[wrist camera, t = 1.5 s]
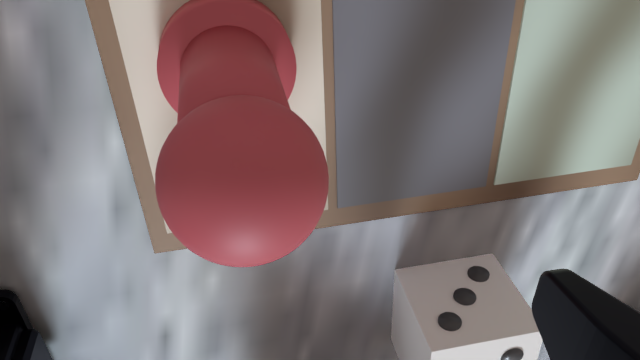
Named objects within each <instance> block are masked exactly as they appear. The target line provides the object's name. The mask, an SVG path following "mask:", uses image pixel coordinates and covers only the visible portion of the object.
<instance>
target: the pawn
mask: <svg viewBox="0 0 640 360" xmlns="http://www.w3.org/2000/svg"><path fill="white" fill-rule="evenodd" d="M296 70H297V64H296V57H295V53H294V49H293V46H292V44H291V42H290V39H289V37H288V35H287V33H286V30H285V28H284V26H283V25H282V23H281V21H280V20H279V19H278V17H277V16H276V15H275V14H274V13H273V12H272V11H271V10H270V9H269V8H268V7H267V6H265V5H264V4H263V3H261V2H259V1H258V0H190V1H188V2H186V3H185V4H183V5H182V6H181V7H180V8H179V9H178V10H176V12H175V13H174V14H173V15H172V16H171V17H170V19H169V20H168V22H167V24H166V25H165V28H164V30H163V32H162V35H161V39H160V44H159V51H158V57H157V76H158V81H159V84H160V88H161V90H162V92H163V95H164V97H165V98H166V100H167V101H168V103H169V104H170V106H171V107H172V108H173V109H174V110H175V111H176V112H177V113H178V117H177V124H176V126H175V127H174V128H173V129H172V131H171V132H170V134H169V135H168V137H167V138H166V140H165V142H164V144H163V146H162V148H161V151H160V154H159V157H158V161H157V165H156V172H155V191H156V197H157V202H158V205H159V208H160V211H161V214H162V216H163V218H164V220H165V222H166V224H167V225H168V227H169V229H170V230H171V232H172V233H173V234H174V236H175V237H176V238H177V239H178V240H179V241H180V242H181V243H182V244H183V245H184V246H185V247H187V248H188V249H189V250H190V251H192V252H193V253H195V254H197V255H198V256H200V257H202V258H204V259H206V260H208V261H211V262H213V263H217V264H220V265H225V266H232V267H252V266H259V265H263V264H267V263H270V262H273V261H275V260H277V259H280V258H282V257H284V256H285V255H287V254H289V253H290V252H292V251H293V250H295V249H296V248H297V247H298V246H300V245H301V244H302V243H303V242H304V241H305V240H306V238H307V237H308V236H309V235H310V234H311V233H312V231H313V230H314V228H315V227H316V225H317V223H318V221H319V219H320V218H321V216H322V213H323V211H324V208H325V205H326V200H327V195H328V188H329V174H328V166H327V162H326V158H325V155H324V151H323V149H322V147H321V145H320V142H319V141H318V139H317V137H316V135H315V134H314V132H313V131H312V129H311V128H310V127H309V126H308V125H307V124H306V123H305V122H304V120H303V119H302V118H300V117H299V116H298V115H297V114H296V113H295V112H293V111H292V110H291V109H290V106H289V103H288V99H289V97H290V95H291V93H292V90H293V88H294V84H295V80H296Z"/></svg>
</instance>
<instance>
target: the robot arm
mask: <svg viewBox="0 0 640 360" xmlns="http://www.w3.org/2000/svg"><path fill="white" fill-rule="evenodd" d="M0 301H4V302H7V303H2V302H0V360H53V359H52V357H51V355H50V353H49V351H48V349H47V347H46V345H45V343H44V341H43V339H42V337H41V335H40V333H39V332H38V331H37V330H36V329H33V327H32V325H31V322H30V320H29V318H28V316H27V314H26V312H25V310H24V308H23V306H22V304H21V302H20V300H19V298H18V296H17V295H16V294H15V293H14V292H12V291H9V290H0ZM532 314H533V317H534V320H535V323H536V325H537V328H538V330H539V332H540V335H541V337H542V340H543V342H544V345H545V347H546V350H547V352H548V355H549V357H550V360H640V313H639V312H638V311H636V310H635V309H633V308H631V307H630V306H628V305H626V304H625V303H623V302H621V301H620V300H618V299H616V298H615V297H613V296H612V295H610V294H608V293H607V292H605V291H603V290H602V289H600V288H598V287H597V286H595V285H594V284H592V283H590V282H589V281H587V280H585V279H584V278H582V277H580V276H579V275H577V274H575V273H574V272H572V271H570V270H568V269H557V270H550V271H545V272H544V273H543V274H542V275H541V276H540V279H539V282H538V285H537V289H536V292H535V295H534V298H533V302H532Z"/></svg>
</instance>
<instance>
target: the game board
mask: <svg viewBox="0 0 640 360" xmlns="http://www.w3.org/2000/svg"><path fill="white" fill-rule="evenodd" d="M188 1H190V0H85V2H86V6H87V10H88V13H89V17H90V20H91V24H92V28H93V31H94V35H95V39H96V42H97V46H98V50H99V53H100V57H101V60H102V64H103V68H104V71H105V75H106V79H107V82H108V86H109V90H110V93H111V97H112V100H113V104H114V108H115V111H116V115H117V119H118V122H119V126H120V130H121V133H122V137H123V140H124V144H125V148H126V151H127V155H128V159H129V162H130V166H131V169H132V173H133V177H134V180H135V184H136V188H137V191H138V195H139V199H140V202H141V206H142V209H143V213H144V217H145V220H146V224H147V228H148V231H149V235H150V239H151V242H152V246H153V249H154V253H161V252H167V251H174V250H181V249H187V247H185V246H184V245H183V244H182V243H181V242H180V241H179V240H178V239H177V238H176V237H175V236H174V234H173V233H172V232H171V230H170V229H169V227H168V225H167V224H166V222H165V220H164V218H163V216H162V214H161V211H160V208H159V205H158V202H157V197H156V191H155V172H156V165H157V161H158V157H159V154H160V151H161V148H162V146H163V144H164V142H165V140H166V138H167V137H168V135H169V134H170V132H171V131H172V129H173V128H174V127H175V126H176V124H177V117H178V113H177V112H176V111H175V110H174V109H173V108H172V107H171V106H170V104H169V103H168V101H167V100H166V98H165V97H164V95H163V92H162V90H161V88H160V84H159V81H158V76H157V57H158V51H159V44H160V39H161V35H162V32H163V30H164V28H165V25H166V24H167V22H168V20H169V19H170V17H171V16H172V15H173V14H174V13H175V12H176V10H178V9H179V8H180V7H181V6H182V5H183V4H185V3H186V2H188ZM258 1H259V2H261V3H263V4H264V5H265V6H267V7H268V8H269V9H270V10H271V11H272V12H273V13H274V14H275V15H276V16H277V17H278V19H279V20H280V21H281V23H282V25H283V26H284V28H285V30H286V33H287V35H288V37H289V39H290V42H291V44H292V46H293V49H294V53H295V57H296V64H297V70H296V80H295V84H294V88H293V90H292V93H291V95H290V97H289V99H288V103H289V106H290V109H291V110H292V111H293V112H295V113H296V114H297V115H298V116H299V117H300V118H302V119H303V120H304V122H305V123H306V124H307V125H308V126H309V127H310V128H311V129H312V131H313V132H314V134H315V135H316V137H317V139H318V141H319V142H320V145H321V147H322V149H323V151H324V155H325V158H326V162H327V166H328V174H329V188H328V195H327V200H326V205H325V208H324V211H323V213H322V216H321V218H320V219H319V221H318V223H317V225H316V227H315V228H314V229H318V228H325V227H331V226H338V225H344V224H351V223H358V222H364V221H371V220H377V219H384V218H390V217H397V216H403V215H410V214H417V213H423V212H430V211H436V210H443V209H449V208H456V207H462V206H469V205H476V204H482V203H489V202H495V201H502V200H508V199H515V198H521V197H528V196H535V195H541V194H548V193H554V192H561V191H567V190H574V189H580V188H587V187H594V186H600V185H607V184H613V183H620V182H626V181H633V180H637V178H638V176H639V173H640V0H258Z"/></svg>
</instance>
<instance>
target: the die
mask: <svg viewBox="0 0 640 360" xmlns="http://www.w3.org/2000/svg"><path fill="white" fill-rule="evenodd" d="M391 341H392V343H393V346H394V349H395V351H396V354H397V356H398V359H399V360H537V358H538V355H539V352H540V348H541V345H542V341H543V340H542V337H541V335H540V332H539V330H538V328H537V325H536V323H535V320H534V317H533V314H532V310H531V308H530V307H529V305H528V304H527V302H526V301H525V300H524V298H523V297H522V295H521V294H520V292H519V291H518V289H517V288H516V286H515V285H514V284H513V282H512V281H511V279H510V278H509V276H508V275H507V273H506V272H505V271H504V269H503V268H502V266H501V265H500V263H499V262H498V260H497V259H496V257H495V256H494V255H493V253H491V254H485V255H479V256H473V257H467V258H461V259H455V260H449V261H443V262H437V263H431V264H425V265H419V266H412V267H406V268H400V269H395V272H394V291H393V309H392V327H391Z"/></svg>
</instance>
